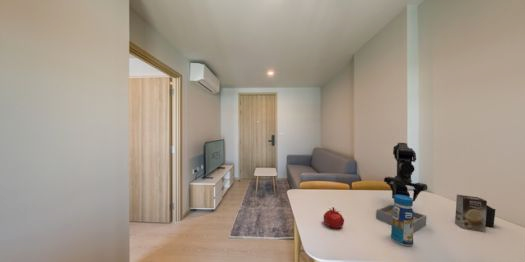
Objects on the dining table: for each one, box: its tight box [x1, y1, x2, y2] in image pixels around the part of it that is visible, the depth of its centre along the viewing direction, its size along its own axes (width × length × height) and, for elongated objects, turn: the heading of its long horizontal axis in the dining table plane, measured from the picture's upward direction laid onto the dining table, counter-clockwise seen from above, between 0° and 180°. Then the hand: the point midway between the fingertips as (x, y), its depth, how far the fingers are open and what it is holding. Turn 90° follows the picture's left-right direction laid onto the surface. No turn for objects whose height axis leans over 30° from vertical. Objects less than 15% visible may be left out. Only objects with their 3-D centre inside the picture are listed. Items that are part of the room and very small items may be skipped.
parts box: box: [375, 204, 427, 233], centre depth 103 cm, size 17×17×5 cm
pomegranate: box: [323, 207, 345, 229], centre depth 96 cm, size 10×10×9 cm
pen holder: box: [485, 204, 496, 228], centre depth 104 cm, size 9×9×10 cm
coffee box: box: [454, 194, 488, 233], centre depth 99 cm, size 9×6×16 cm
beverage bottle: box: [390, 195, 415, 247], centre depth 84 cm, size 8×8×20 cm
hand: (403, 198), depth 104 cm, fingers open, 9 cm apart
